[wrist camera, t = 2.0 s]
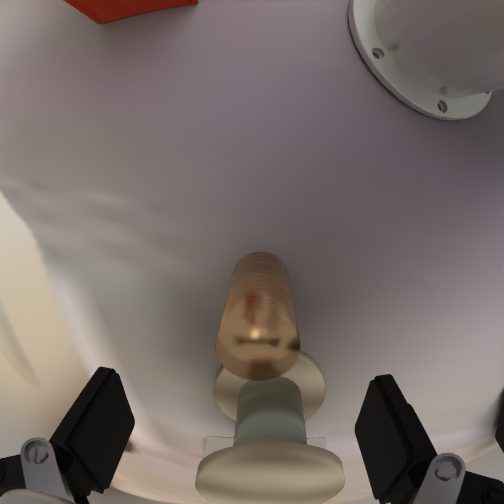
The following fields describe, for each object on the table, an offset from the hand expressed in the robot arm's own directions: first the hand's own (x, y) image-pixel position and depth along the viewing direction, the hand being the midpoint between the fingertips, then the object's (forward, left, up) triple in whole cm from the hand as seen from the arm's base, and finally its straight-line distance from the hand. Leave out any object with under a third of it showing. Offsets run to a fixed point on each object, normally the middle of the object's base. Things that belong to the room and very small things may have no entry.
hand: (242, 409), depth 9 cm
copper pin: (-1, 0, -11) cm, 11 cm away
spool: (+9, +1, -11) cm, 14 cm away
